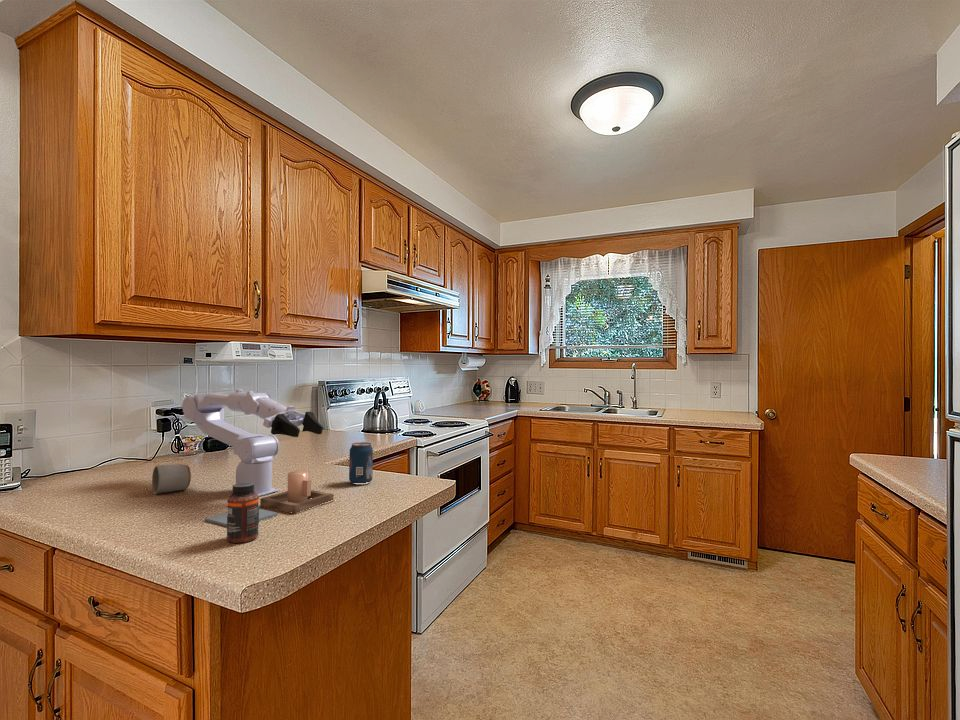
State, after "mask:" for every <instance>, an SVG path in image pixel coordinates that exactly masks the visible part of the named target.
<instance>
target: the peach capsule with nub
mask: <svg viewBox="0 0 960 720" xmlns="http://www.w3.org/2000/svg"><path fill="white" fill-rule="evenodd" d="M311 490H312V480H311V479H309V472H308V471H307V470H294V471H291V472H288V473H287V490H286V491H287V502H292V503H299V502H302V501H305V500H309V499H308V496H311Z"/></svg>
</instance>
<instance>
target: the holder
mask: <svg viewBox="0 0 960 720" xmlns="http://www.w3.org/2000/svg"><path fill="white" fill-rule="evenodd" d="M308 498H312V499H308V500H305V501H302V502H299V503H292V502H287V501H285V500H287V490H286V491H283V492H280V493H276V494H275V493H274V494H272V495H267V496H265V497H261V498H260V499H259V507H261V506H264V507H263V508H265V507H268V508H267V509H270V508H273V509H272V510H274V509H277V510H276V511H279V510H282V511H281V512H283V511H287V512H286V513H288V512H292V513H297V512H300V511H303V510H306V509H309V508H312V507H314V506H317V505H320V504H322V503H325V502H328V501H331V500H333V501H334V493H330V492H325V491H319V490H314V489H311V496H308ZM312 509H313V508H312ZM309 510H310V509H309ZM306 511H307V510H306ZM303 512H304V511H303ZM292 513H291V514H292ZM300 513H301V512H300ZM297 514H298V513H297Z"/></svg>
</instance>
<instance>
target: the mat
mask: <svg viewBox="0 0 960 720" xmlns="http://www.w3.org/2000/svg"><path fill="white" fill-rule="evenodd" d="M276 515H279V512H275V511H271V510H266V509H262V508H259V522H262V521H265V520H268V519H271V518H274V517H273V516H275V517H277V516H276ZM270 517H271V518H270ZM267 518H268V519H267ZM264 519H265V520H264ZM261 520H262V521H261ZM204 522H208V523H212V524H215V525H219V526H222V527H226V528H227V511H226V512H222V513H218V514H216V515H211V516H207V517H204Z"/></svg>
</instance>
